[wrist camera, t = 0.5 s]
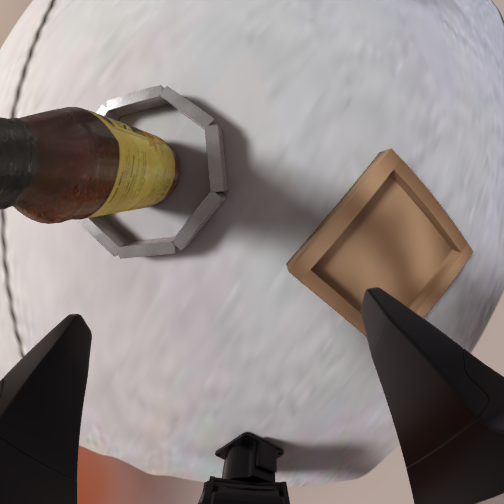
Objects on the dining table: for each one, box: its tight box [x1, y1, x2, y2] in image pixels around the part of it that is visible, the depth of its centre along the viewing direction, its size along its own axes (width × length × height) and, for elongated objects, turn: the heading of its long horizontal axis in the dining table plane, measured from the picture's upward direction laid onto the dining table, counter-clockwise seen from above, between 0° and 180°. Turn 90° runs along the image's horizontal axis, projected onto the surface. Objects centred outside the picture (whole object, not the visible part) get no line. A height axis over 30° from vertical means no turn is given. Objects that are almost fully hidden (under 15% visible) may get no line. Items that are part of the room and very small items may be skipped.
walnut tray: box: [286, 149, 473, 337], centre depth 23 cm, size 13×13×2 cm
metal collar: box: [77, 85, 228, 259], centre depth 22 cm, size 14×14×2 cm
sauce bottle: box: [0, 107, 179, 224], centre depth 13 cm, size 6×6×20 cm
